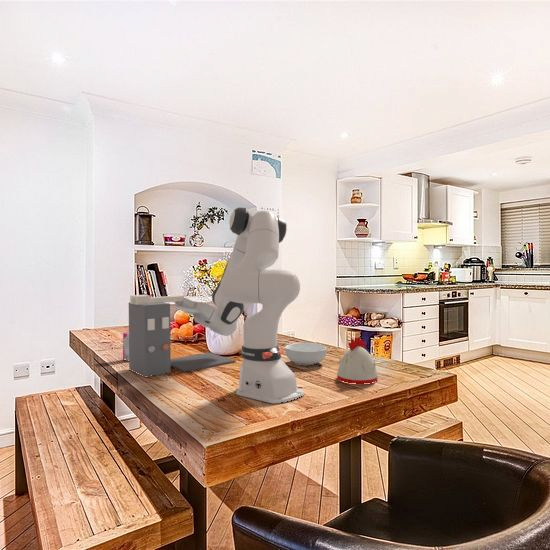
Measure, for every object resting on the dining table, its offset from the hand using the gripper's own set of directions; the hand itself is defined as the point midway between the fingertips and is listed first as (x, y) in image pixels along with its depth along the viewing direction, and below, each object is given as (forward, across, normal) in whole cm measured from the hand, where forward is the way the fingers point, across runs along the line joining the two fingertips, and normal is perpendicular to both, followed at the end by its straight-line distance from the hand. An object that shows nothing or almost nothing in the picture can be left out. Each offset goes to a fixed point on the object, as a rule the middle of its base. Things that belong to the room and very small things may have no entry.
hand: (178, 298), depth 166 cm
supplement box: (-6, -23, +28) cm, 37 cm away
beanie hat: (-46, +59, +5) cm, 75 cm away
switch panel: (-3, 0, +29) cm, 29 cm away
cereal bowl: (-49, +31, +3) cm, 58 cm away
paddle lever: (+7, 0, +5) cm, 8 cm away
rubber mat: (-21, 0, +19) cm, 28 cm away
